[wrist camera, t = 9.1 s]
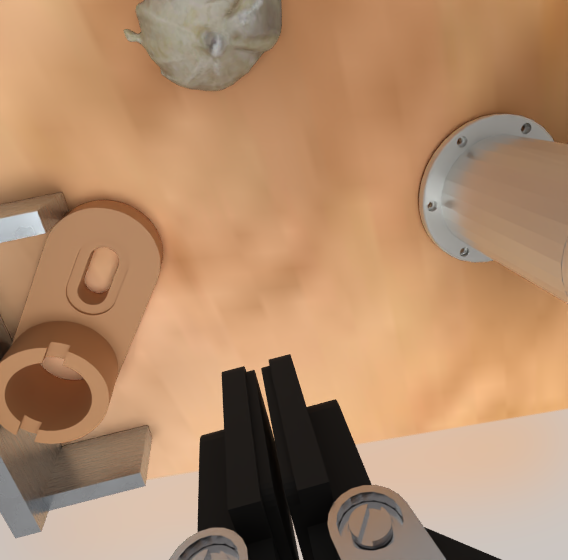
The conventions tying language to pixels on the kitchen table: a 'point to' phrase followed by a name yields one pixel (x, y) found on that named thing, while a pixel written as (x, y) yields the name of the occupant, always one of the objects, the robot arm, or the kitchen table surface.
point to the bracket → (78, 322)
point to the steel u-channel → (53, 457)
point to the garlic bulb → (207, 38)
